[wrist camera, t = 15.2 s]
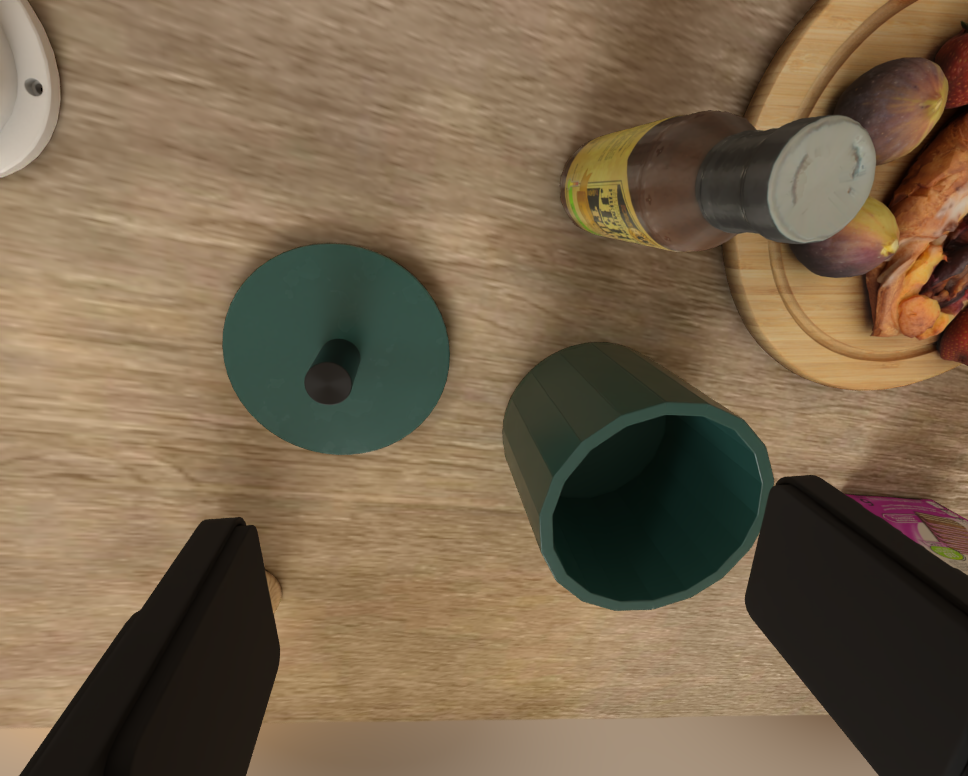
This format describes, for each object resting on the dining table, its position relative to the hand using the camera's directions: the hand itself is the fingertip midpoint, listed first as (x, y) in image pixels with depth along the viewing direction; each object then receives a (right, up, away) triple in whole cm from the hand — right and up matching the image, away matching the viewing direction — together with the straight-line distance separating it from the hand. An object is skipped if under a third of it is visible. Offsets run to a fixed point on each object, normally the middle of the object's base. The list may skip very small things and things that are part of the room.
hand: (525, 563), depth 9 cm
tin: (+8, 0, +32) cm, 33 cm away
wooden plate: (+32, +19, +29) cm, 47 cm away
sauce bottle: (+7, +17, +26) cm, 32 cm away
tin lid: (-11, +6, +27) cm, 29 cm away
